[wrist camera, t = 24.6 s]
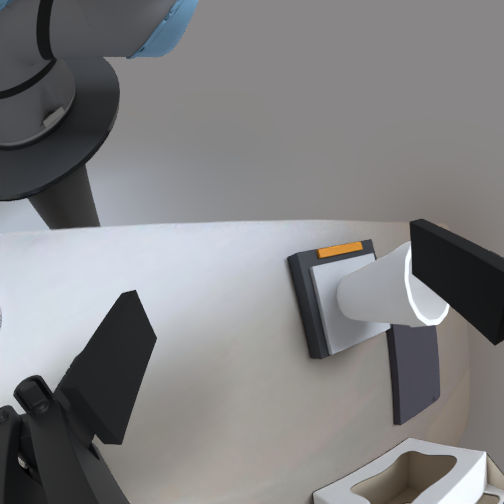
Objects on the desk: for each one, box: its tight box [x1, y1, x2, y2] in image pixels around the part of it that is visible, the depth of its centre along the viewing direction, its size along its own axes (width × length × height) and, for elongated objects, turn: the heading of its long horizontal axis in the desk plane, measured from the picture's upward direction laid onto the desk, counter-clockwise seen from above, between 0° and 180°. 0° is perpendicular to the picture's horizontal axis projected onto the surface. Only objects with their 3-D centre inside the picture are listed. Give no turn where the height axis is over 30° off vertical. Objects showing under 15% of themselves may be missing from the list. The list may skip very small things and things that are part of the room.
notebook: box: [387, 324, 440, 425], centre depth 45 cm, size 13×2×21 cm
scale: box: [288, 239, 392, 359], centre depth 41 cm, size 14×14×3 cm
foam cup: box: [336, 241, 450, 327], centre depth 33 cm, size 10×9×13 cm
